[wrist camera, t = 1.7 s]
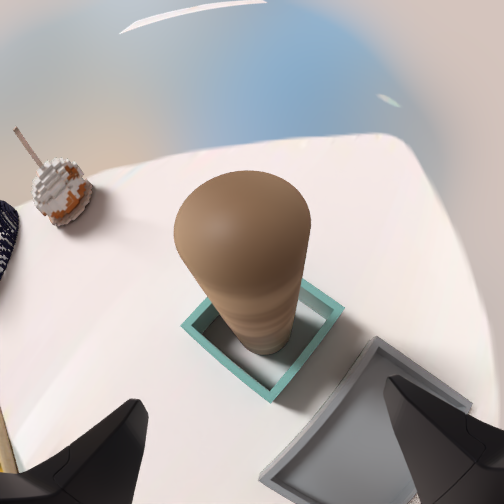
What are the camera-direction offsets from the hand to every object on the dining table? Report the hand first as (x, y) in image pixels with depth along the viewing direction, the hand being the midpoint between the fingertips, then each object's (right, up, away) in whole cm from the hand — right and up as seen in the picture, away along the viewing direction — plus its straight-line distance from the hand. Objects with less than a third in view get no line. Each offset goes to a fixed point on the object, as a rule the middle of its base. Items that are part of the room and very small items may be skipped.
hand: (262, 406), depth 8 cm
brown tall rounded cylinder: (+1, -1, +13) cm, 13 cm away
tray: (+9, -10, +7) cm, 16 cm away
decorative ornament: (-25, +12, +23) cm, 37 cm away
